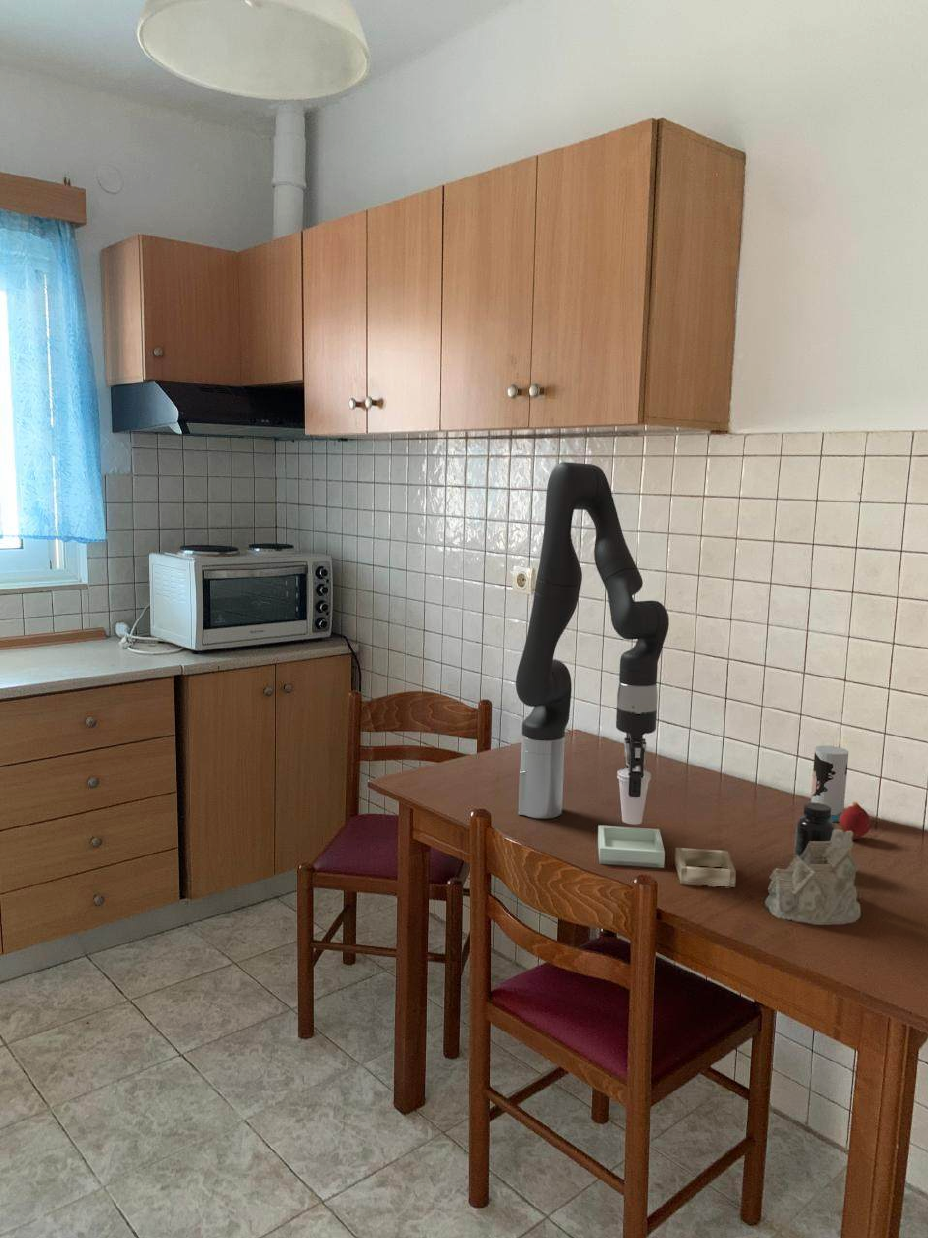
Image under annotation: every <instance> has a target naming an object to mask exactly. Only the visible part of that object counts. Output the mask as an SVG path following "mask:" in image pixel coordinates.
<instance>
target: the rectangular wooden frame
mask: <svg viewBox="0 0 928 1238" xmlns="http://www.w3.org/2000/svg"><path fill="white" fill-rule="evenodd" d="M674 852H675V853H674V855H675V856H674V865H675V867H676V872H677V877H678V879H679V883H680V885H686V886H687V885H689V886H701V885H708V886H707V887H716V886H726V887H725V888H728V887H727V886H730V887H735V888H736V875H737V870H736V869H735V866H734V864H733V861H732V860H731V857H730V854H729V852H728V850H717V849H716V850H715V849H704V848H703V849H702V848H686V847H685V848H684V847H675V851H674ZM686 865H687V866H686ZM699 866H709V867H699ZM714 867H722V868H714ZM730 887H729V888H730Z"/></svg>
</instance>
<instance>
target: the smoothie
mask: <svg viewBox="0 0 928 1238" xmlns="http://www.w3.org/2000/svg"><path fill="white" fill-rule="evenodd" d="M633 771H639V766H636V768H633ZM616 773H617V775H616V777H617V779H618V785H619V786H618V787H619V796H620V797H619V798H620V808H621V811H620V812H621V820H622V823H625V824H628V825H634V826H635V825H640V824H641V823H642V821H643V816H644V811H645V805H646V801H647V800H646V798H647V794H648V793H647V792H648V790H649V789H648V788H649V782H650V781H651V779H652V778H651V777H652V776H651V775H652V774H651V772H650V771H648V770H646V769H644V770H643V773H644V776H643V778H641V795H640V797H630V796H629V794H628V792H629V776H628V773H629V768H627V767H624V768H620V769H619V770H617V772H616Z"/></svg>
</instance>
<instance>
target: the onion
mask: <svg viewBox="0 0 928 1238" xmlns="http://www.w3.org/2000/svg"><path fill="white" fill-rule="evenodd" d="M839 825H840V828H841V830H842V831H843V833H845V832H846V831H852V832H853V836H852V841H853V840H857V839H859V838H862V837H864V836H866V834H868V832H869V831H870V828H871V819H870V816H869V814H868V812H867V811H866V810H865V809H864V807H862V806H861V805H860V804H859V803H858V802H857V801H856V800H855V801H852V805H850V806H848V807H846V808H844V811H843V812H842V814H841V815H840V821H839Z"/></svg>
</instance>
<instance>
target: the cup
mask: <svg viewBox="0 0 928 1238" xmlns="http://www.w3.org/2000/svg"><path fill="white" fill-rule="evenodd" d="M848 760H849V750H848V749H846V748H843V747H839V746H834V745H817V746H815V748H814V755H813V769H812V770H813V771H812V781H811V782H812V783H811V784H812V785H811V793H810V794H811V795H810V803H812V802H813V803H821V804H825V805H827V806H829V807H831V819H829V820H830V821H831V822H833V823H838V822H840V815H841V814H842V812H843V811H844V810H845V808H844V806H845V798H846V788H847V787H846V785H847V775H848V774H847V773H848V763H849V762H848Z"/></svg>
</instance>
